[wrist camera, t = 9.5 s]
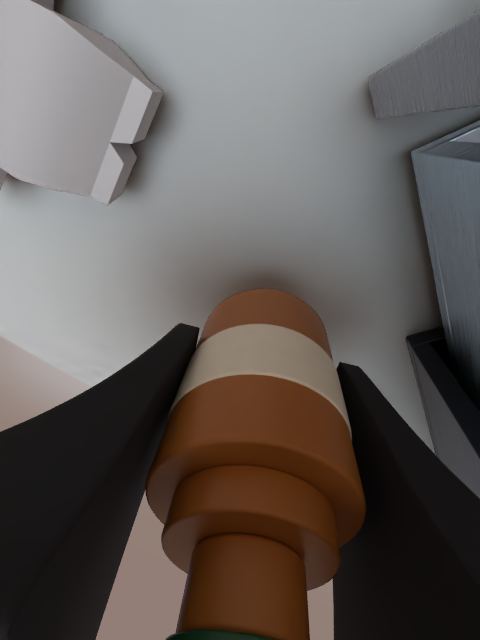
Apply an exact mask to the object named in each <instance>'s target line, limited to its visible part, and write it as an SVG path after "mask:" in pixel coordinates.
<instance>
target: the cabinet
mask: <svg viewBox="0 0 480 640" xmlns="http://www.w3.org/2000/svg"><path fill="white" fill-rule="evenodd" d="M406 341H407V345H408V349H409V352H410V356H411V360H412V364H413V368H414V372H415V376H416V380H417V383H418V387H419V391H420V395H421V399H422V403H423V407H424V411H425V414H426V418H427V422H428V426H429V430H430V434H431V438H432V442H433V445H434V449H435V453H436V456H437V457H438V458H439V459H440V460H441V461H442V462H443V463H444V464H445V465H446V466H447V468H448V469H449V470H451V471H452V472H453V473H454V474H455V475H456V476H457V477H458V478H459V479H460V480H461V481H462V482H463V483H464V484H465V485H466V486H467V487H468V488H469V489H470V490H471V491H472V492H473V493H474V494H475V495H477V496H478V497H479V498H480V412H479V410H478V409H477V408H476V406H475V405H474V403H473V402H472V401H471V399H470V398H469V396H468V395H467V394H466V392H465V391H464V389H463V388H462V387H461V385H460V384H459V382H458V381H457V380H456V378H455V377H454V375H453V374H452V371H451V365H450V360H449V355H448V349H447V344H446V339H445V333H444V328H443V327H441V328H437V329H434V330H430V331H427V332H423V333H419V334H416V335H412V336H409V337H407V338H406Z"/></svg>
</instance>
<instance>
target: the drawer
mask: <svg viewBox="0 0 480 640" xmlns="http://www.w3.org/2000/svg"><path fill="white" fill-rule="evenodd" d="M368 84H369V88H370V93H371V97H372V102H373V106H374V111H375V115H376V118H377V119H380V118H388V117H396V116H404V115H412V114H419V113H427V112H435V111H443V110H451V109H459V108H467V107H475V106H480V10H478V11H476V12H475V13H473V14H471V15H470V16H468V17H466V18H465V19H463V20H461V21H460V22H458V23H457V24H455V25H453V26H452V27H450V28H448V29H447V30H445V31H443V32H442V33H440V34H438V35H437V36H435V37H433V38H432V39H430V40H429V41H427V42H425V43H424V44H422V45H420V46H419V47H417V48H415V49H414V50H412V51H410V52H409V53H407V54H406V55H404V56H402V57H401V58H399V59H397V60H396V61H394V62H392V63H391V64H389V65H387V66H386V67H384V68H383V69H381V70H379V71H378V72H376V73H374V74H373V75H371V76H370V77H369V78H368ZM411 156H412V161H413V167H414V172H415V177H416V183H417V188H418V193H419V199H420V204H421V210H422V215H423V220H424V226H425V231H426V236H427V242H428V247H429V253H430V258H431V263H432V269H433V274H434V279H435V285H436V290H437V296H438V301H439V306H440V312H441V317H442V322H443V328H444V333H445V339H446V344H447V349H448V355H449V360H450V365H451V371H452V374H453V375H454V377H455V378H456V380H457V381H458V382H459V384H460V385H461V387H462V388H463V389H464V391H465V392H466V394H467V395H468V396H469V398H470V399H471V401H472V402H473V403H474V405H475V406H476V408H477V409H478V410H479V412H480V120H479V121H477V122H475V123H473V124H470V125H468V126H466V127H464V128H462V129H459V130H457V131H455V132H453V133H451V134H448V135H446V136H444V137H442V138H440V139H437V140H435V141H433V142H431V143H429V144H426V145H424V146H422V147H420V148H418V149H415V150H413V151H412V152H411Z"/></svg>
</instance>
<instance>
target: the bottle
mask: <svg viewBox="0 0 480 640" xmlns="http://www.w3.org/2000/svg"><path fill="white" fill-rule="evenodd" d="M146 497H147V501H148V504H149V506H150V508H151V509H152V511H153V513H154V514H155V515H156V517H157V518H158V519H159V520H160V521H161V522H162V523H163V524H164V525H165V526H164V529H163V532H162V538H161V542H162V547H163V550H164V552H165V554H166V555H167V557H168V558H169V560H170V561H172V562H173V564H175V565H176V566H177V567H178V568H180V569H181V570H182V571H184V572H186V573H187V574H188V576H187V580H186V585H185V590H184V595H183V599H182V604H181V609H180V614H179V619H178V624H177V629H176V633H175V634H173V635H171V636H169V637H168V638H166V640H310V635H309V619H308V601H307V591H308V590H312V589H314V588H317V587H320V586H322V585H324V584H325V583H327V582H329V581H330V580H331V579H332V578H333V577H334V576H335V575H336V574H337V572H338V570H339V567H340V561H341V558H340V551H339V548H340V547H342V546H343V545H345V544H346V543H348V542H349V541H350V540H351V539H352V538H354V537H355V536H356V535H357V533H358V532H359V531H360V529H361V527H362V525H363V523H364V520H365V515H366V501H365V496H364V492H363V488H362V484H361V479H360V475H359V471H358V466H357V462H356V458H355V454H354V449H353V445H352V432H351V427H350V422H349V418H348V414H347V410H346V406H345V402H344V398H343V393H342V389H341V385H340V381H339V377H338V373H337V370H336V367H335V365H334V363H333V359H332V355H331V351H330V346H329V342H328V338H327V334H326V330H325V327H324V324H323V322H322V320H321V318H320V317H319V316H318V314H317V313H316V312H315V311H314V310H313V308H312V307H310V306H309V305H308V304H307V303H306V302H304V301H303V300H301V299H299V298H298V297H296V296H293V295H291V294H289V293H285V292H282V291H278V290H272V289H254V290H248V291H244V292H241V293H238V294H235V295H233V296H231V297H229V298H227V299H226V300H224V301H223V302H222V303H220V304H219V305H218V306H217V307H216V308H215V309H214V310H213V311H212V313H211V314H210V316H209V317H208V319H207V322H206V324H205V326H204V329H203V332H202V334H201V337H200V340H199V342H198V345H197V347H196V350H195V352H194V354H193V355H192V357H191V359H190V361H189V364H188V366H187V369H186V371H185V374H184V376H183V379H182V381H181V384H180V386H179V389H178V391H177V394H176V397H175V399H174V402H173V404H172V407H171V409H170V412H169V416H168V423H167V426H166V428H165V431H164V433H163V436H162V439H161V441H160V444H159V446H158V449H157V452H156V454H155V457H154V459H153V462H152V465H151V467H150V470H149V472H148V475H147V479H146Z"/></svg>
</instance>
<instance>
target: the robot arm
mask: <svg viewBox="0 0 480 640" xmlns="http://www.w3.org/2000/svg"><path fill="white" fill-rule="evenodd" d="M198 334H199V328H198V327H194V326H190V325H186V324H182V323H180V324H178V325H176V326H175V327H174V328H173V329H172V330H171V331H170V332H169V333H168V334H166V335H165V336H164V337H163V338H162V339H161V340H159V341H158V342H157V343H156V344H154V345H153V346H152V347H151V348H149V349H148V350H147V351H145V352H144V353H143V354H141V355H140V356H139V357H138V358H136V359H135V360H133V361H132V362H131V363H129V364H128V365H126V366H125V367H123V368H122V369H120V370H119V371H117V372H116V373H114V374H113V375H111V376H110V377H108V378H107V379H105V380H103V381H102V382H100V383H99V384H97V385H95V386H93V387H92V388H90V389H88V390H86V391H85V392H83V393H81V394H79V395H78V396H76V397H74V398H72V399H70V400H68V401H66V402H64V403H62V404H60V405H58V406H56V407H54V408H52V409H51V410H48V411H46V412H44V413H42V414H40V415H38V416H36V417H34V418H32V419H29V420H27V421H25V422H23V423H20V424H18V425H15V426H13V427H11V428H9V429H6V430H4V431H1V432H0V640H95V639H96V636H97V633H98V630H99V626H100V623H101V620H102V617H103V614H104V611H105V608H106V605H107V602H108V599H109V596H110V592H111V590H112V587H113V583H114V580H115V578H116V574H117V571H118V568H119V565H120V562H121V559H122V556H123V553H124V550H125V547H126V544H127V541H128V538H129V536H130V533H131V530H132V527H133V524H134V521H135V518H136V515H137V512H138V509H139V506H140V503H141V500H142V497H143V495H144V492H145V489H146V479H147V475H148V472H149V470H150V467H151V465H152V462H153V459H154V457H155V454H156V452H157V449H158V446H159V444H160V441H161V439H162V436H163V433H164V431H165V428H166V426H167V423H168V416H169V412H170V409H171V407H172V404H173V402H174V399H175V397H176V394H177V391H178V389H179V386H180V384H181V381H182V379H183V376H184V374H185V371H186V369H187V366H188V364H189V361H190V359H191V357H192V355H193V354H194V352H195V350H196V345H197V340H198ZM336 370H337V373H338V377H339V381H340V385H341V389H342V393H343V398H344V402H345V406H346V410H347V414H348V418H349V422H350V427H351V432H352V445H353V449H354V454H355V458H356V462H357V466H358V471H359V475H360V479H361V484H362V488H363V492H364V496H365V501H366V515H365V520H364V523H363V525H362V527H361V529H360V531H359V532H358V533H357V535H356V536H355V537H354V538H352V539H351V540H350V541H349V542H348V543H346V544H345V545H343V546H342V547H340V548H339V551H340V558H341V561H340V567H339V570H338V572H337V574H336V575H335V576H334V577H333V602H334V640H480V498H479V497H478V496H477V495H475V494H474V493H473V492H472V491H471V490H470V489H469V488H468V487H467V486H466V485H465V484H464V483H463V482H462V481H461V480H460V479H459V478H458V477H457V476H456V475H455V474H454V473H453V472H452V471H451V470H449V469H448V468H447V466H446V465H445V464H444V463H443V462H442V461H441V460H440V459H439V458H438V457H437V456H436V455H435V454H434V453H433V452H432V451H431V450H430V449H429V448H428V447H427V445H426V444H425V443H424V442H423V441H422V440H421V439H420V438H419V437H418V436H417V435H416V433H415V432H414V431H413V430H412V429H411V428H410V427H409V425H408V424H407V423H406V422H405V421H404V420H403V418H402V417H401V416H400V415H399V414H398V413H397V411H396V410H395V409H394V408H393V407H392V405H391V404H390V403H389V402H388V401H387V399H386V398H385V397H384V396H383V394H382V393H381V392H380V391H379V390H378V388H377V387H376V386H375V385H374V383H373V382H372V381H371V380H370V379H369V377H368V376H367V375H366V374H365V373H364V372H363V371H362V369H361V368H360V367H358V366H354V365H350V364H346V363H342V362H340V363H339V365H338V367H337V369H336Z"/></svg>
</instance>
